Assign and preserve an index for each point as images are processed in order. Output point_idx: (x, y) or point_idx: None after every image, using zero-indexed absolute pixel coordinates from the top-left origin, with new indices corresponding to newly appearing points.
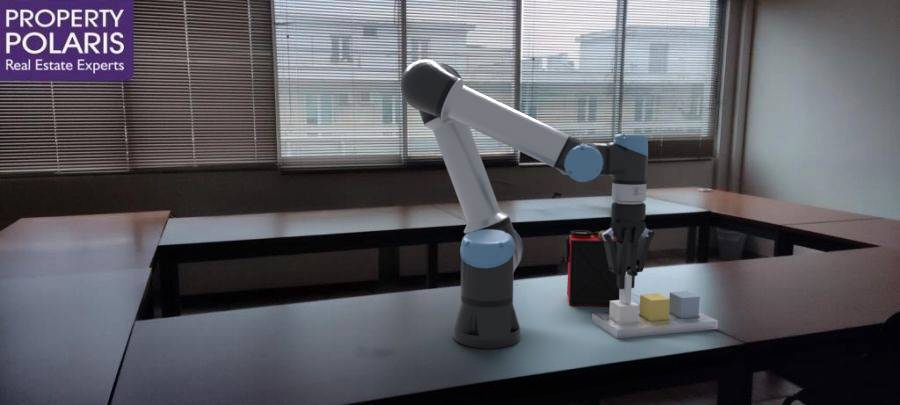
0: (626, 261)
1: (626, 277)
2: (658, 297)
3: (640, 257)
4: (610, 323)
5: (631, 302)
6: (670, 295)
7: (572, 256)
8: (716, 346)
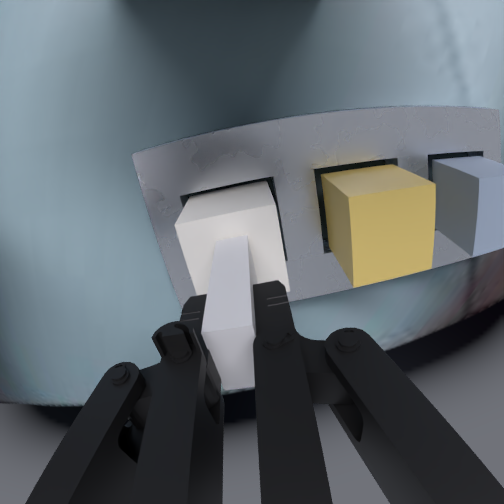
0: (222, 479)
1: (228, 384)
2: (405, 246)
3: (374, 468)
4: (176, 266)
5: (272, 253)
6: (471, 181)
7: None
8: (406, 340)
